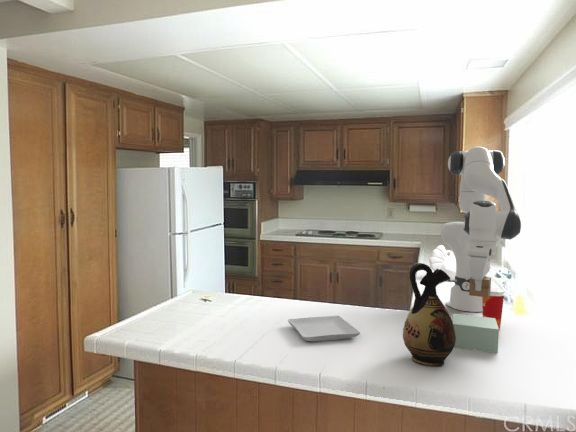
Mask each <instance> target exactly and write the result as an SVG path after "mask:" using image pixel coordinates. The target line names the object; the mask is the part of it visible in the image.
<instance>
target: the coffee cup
mask: <svg viewBox="0 0 576 432" xmlns="http://www.w3.org/2000/svg"><path fill="white" fill-rule="evenodd" d="M504 296H506V293H505V291H504V290H503V289H500V288H499V289H498V288H493V287H491V291H490V296H489V297H488V298H487V297H482V309H483V311H482V317H488V318H495V319H496V322H497V325H498V328H499V331H500V330H501V324H502V316H503V306H504V299H505V297H504Z"/></svg>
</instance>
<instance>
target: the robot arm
mask: <svg viewBox="0 0 576 432" xmlns="http://www.w3.org/2000/svg"><path fill="white" fill-rule="evenodd" d="M505 160H506V159H505V157H504V154H503V152H502V151H501V150H498V149H497V150H496V149H493V150H490V149H489V150H488V149H487V148H486V147H483V146H475V147H472V148H470V149H468V150H462V151H461V150H456V151H454V152H452V153H450V156H449V157H448V159H447V167H448V170H449V172H450V174H451V175H454V176H458V177H459V176H461V177H460V183H459V198H458V199H459V200H458V206H459V209H460V211H462V213H464V214H465V215H463V217H464V221H450V222H446V223H444V224H443V225H442V227H441V229H440V237H441V240H442V241H443V243H444V244H445V245H447V246H448V247H449V248H450V250H451V249H452V251H453V253H454V255H455V258H456V276H455V281H454V285H453V286H452V287H451V288H450V294H449V301H447V302H445V305H446V306H448V307H450V308H452V309H455V310H459V311H462V312H472V313H474V312H475V313H480V312H481V313H483V309H482V297H479V296H471V295H469V286H470V277H471V279H475V290H476V291H481V289H482V279H483V278H484V277H487V276H486V275H487V274H489V272H490V270H491V269H490V268H491V260H492V258H493V257H492V256H496V255H497V247H498V246H499V245H500V244H501V243H502V241H503V240H513V239H514V238H517V236H519V234H520V233H521V229H522V221H521V219H520V214H518V212H517V210H516V207H515V205H514V201H513V199H512V197H511V194H510V193H511V192H510V189H509V187H508V185H507V183H506V181H505V180H504V178H501V177H500V176H499V174H501V173H502V172H503V169H504V168H505V165H506V161H505ZM487 196H489V197H492V198H494V199H495V200H496V201H497V203H498V206H499V208H500V210H497V205H496V203H495V202H493V201H489V200H487Z"/></svg>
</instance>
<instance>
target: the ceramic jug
mask: <svg viewBox="0 0 576 432" xmlns="http://www.w3.org/2000/svg"><path fill="white" fill-rule="evenodd" d="M418 271H424V272H426V274H425V275H424V276H423V277H422V278H421V280H420V281H419V285H422V286H424V289H423V292H422V293H421V292H420V289H419V287H418V282H417V279H416V277H417V276H416V275H417V274H416V273H418ZM449 280H450V277H449V276H448V275H447V274H446V273H445V272H444V271H443V270H441V269H440V270H439V269H436V270H435V271H433V270H432V269H431V268H430V265H428V264H426V263H422V262H418V263H415V264H413V265H412V266H411V267H410V270H409V281H410V285H411V289H412V293H413V295H414V301H413V302H414V303H413V306H412V307H411V309H410V310H409V312H408V314H407V316H406V318H405V321H404V325H403V328H402V340H403V343H404V346H405V348H406V349H407V350H408V352H409V353H410V354H411V360H412V361H414V362H416V363H418V364H422V365H424V366H428V367H442V366H444V364H445V361H446V359H447V358H448V356H450V355H451V353H452V352H453V350H454V348H455V347H454V346H455V342H456V335H455V330H454V325H453V318H451V315H450V313H449V312H448V310H447V308H446V306H445V305H444V304H443V301H442V300H441V299H440V296H439V295H438V294H437V289H436V288H437V286H438V285H440V284H442V283H444V282H448V281H449Z"/></svg>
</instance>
